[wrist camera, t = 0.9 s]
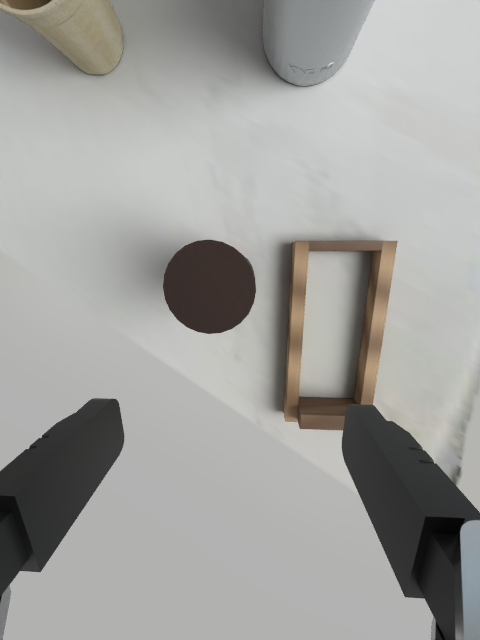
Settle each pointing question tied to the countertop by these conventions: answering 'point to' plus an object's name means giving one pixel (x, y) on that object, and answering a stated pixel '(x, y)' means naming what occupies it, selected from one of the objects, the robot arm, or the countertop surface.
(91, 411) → the robot arm
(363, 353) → the wooden frame
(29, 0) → the flower pot
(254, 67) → the countertop surface
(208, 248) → the deodorant
